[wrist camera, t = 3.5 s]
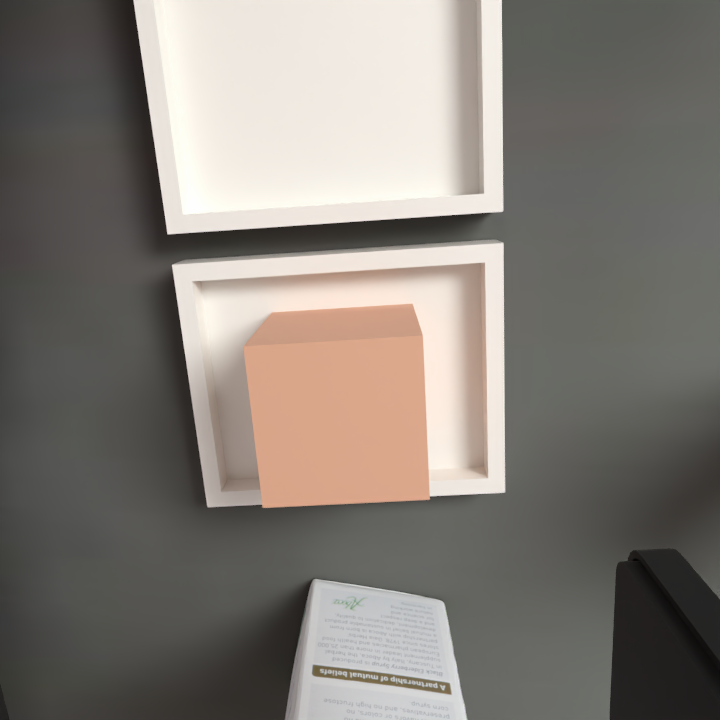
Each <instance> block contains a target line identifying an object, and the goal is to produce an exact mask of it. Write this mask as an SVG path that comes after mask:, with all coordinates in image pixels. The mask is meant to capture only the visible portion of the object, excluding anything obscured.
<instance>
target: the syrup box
mask: <svg viewBox="0 0 720 720" xmlns="http://www.w3.org/2000/svg"><path fill="white" fill-rule="evenodd" d="M285 720H467V716H466V710H465V705H464V700H463V695H462V690H461V685H460V681H459V676H458V670H457V664H456V659H455V653H454V649H453V643H452V639H451V633H450V628H449V623H448V618H447V613H446V608H445V604H444V603H443V602H442V601H441V600H438V599H433V598H428V597H423V596H418V595H413V594H408V593H403V592H397V591H390V590H384V589H378V588H371V587H365V586H359V585H353V584H346V583H339V582H334V581H326V580H319V579H313V581H312V583H311V586H310V589H309V593H308V597H307V602H306V606H305V610H304V615H303V619H302V624H301V629H300V633H299V639H298V644H297V649H296V655H295V660H294V666H293V672H292V677H291V684H290V690H289V696H288V703H287V709H286V716H285Z"/></svg>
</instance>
